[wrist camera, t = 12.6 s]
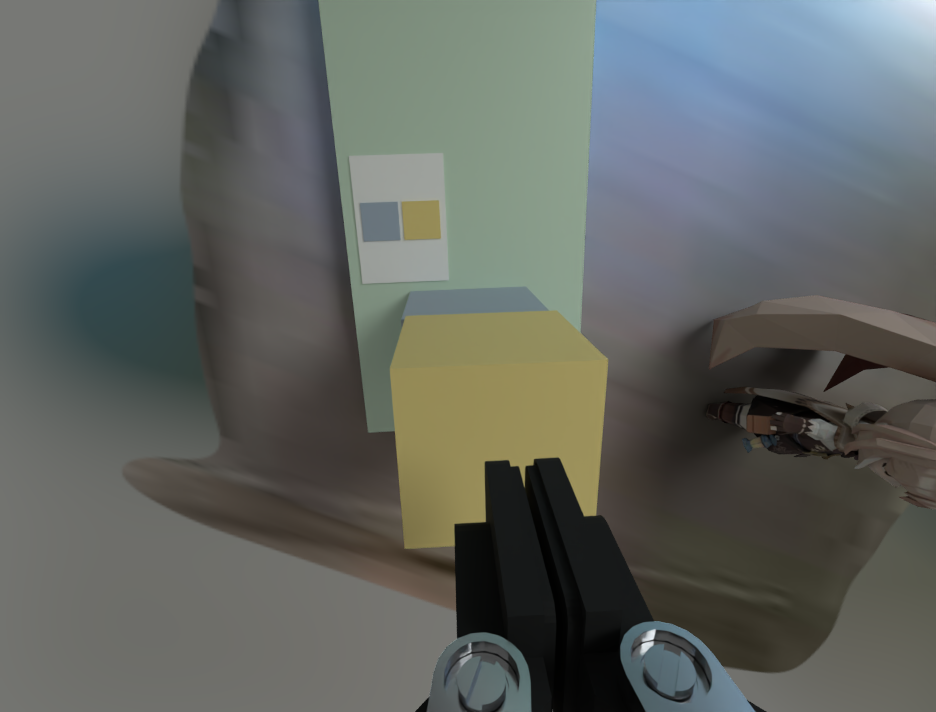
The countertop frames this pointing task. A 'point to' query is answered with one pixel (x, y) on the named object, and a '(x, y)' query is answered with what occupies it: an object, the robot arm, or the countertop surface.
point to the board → (457, 156)
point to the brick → (490, 411)
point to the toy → (823, 423)
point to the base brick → (471, 301)
